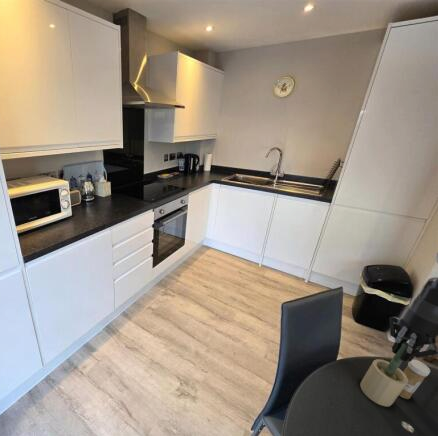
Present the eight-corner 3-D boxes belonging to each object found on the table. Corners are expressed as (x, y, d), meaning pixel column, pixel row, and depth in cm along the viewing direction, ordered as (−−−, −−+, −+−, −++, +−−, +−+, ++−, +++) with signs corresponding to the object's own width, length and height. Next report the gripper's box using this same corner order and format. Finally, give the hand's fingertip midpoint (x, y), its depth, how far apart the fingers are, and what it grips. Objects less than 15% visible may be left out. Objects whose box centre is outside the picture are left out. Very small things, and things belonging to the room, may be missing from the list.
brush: (387, 380, 81) (413, 342, 74) (392, 391, 77) (419, 352, 71) (372, 374, 82) (396, 337, 76) (376, 385, 79) (401, 346, 72)
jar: (386, 388, 84) (401, 366, 79) (396, 411, 77) (412, 389, 73) (357, 376, 87) (370, 355, 83) (363, 398, 80) (377, 375, 76)
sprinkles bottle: (388, 387, 84) (407, 360, 79) (398, 384, 85) (416, 357, 80) (404, 401, 80) (424, 373, 75) (413, 398, 81) (434, 370, 76)
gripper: (471, 333, 62) (436, 378, 69) (414, 296, 75) (389, 337, 82) (444, 333, 62) (411, 378, 68) (392, 296, 75) (368, 337, 81)
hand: (399, 356), depth 75 cm, fingers closed on brush, 2 cm apart
